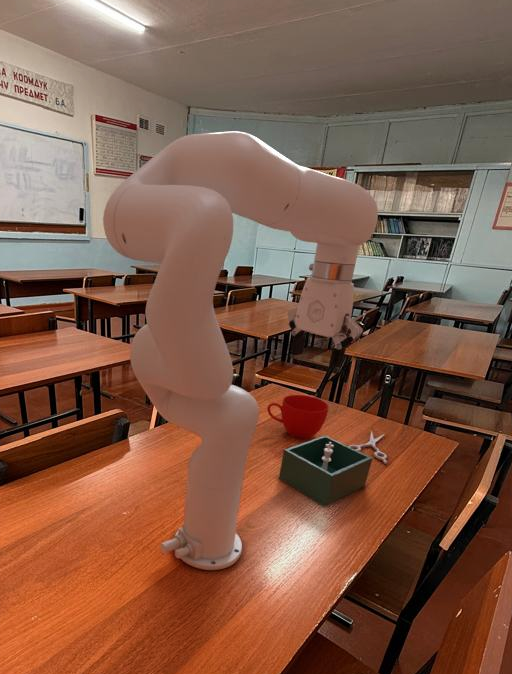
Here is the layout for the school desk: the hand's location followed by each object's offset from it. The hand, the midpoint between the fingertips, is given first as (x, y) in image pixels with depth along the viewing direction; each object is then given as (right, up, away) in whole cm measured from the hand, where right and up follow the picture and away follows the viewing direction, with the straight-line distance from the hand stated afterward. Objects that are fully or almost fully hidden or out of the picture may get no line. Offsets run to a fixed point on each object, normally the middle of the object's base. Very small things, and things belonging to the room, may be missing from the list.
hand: (315, 360), depth 89 cm
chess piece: (+6, -26, +15) cm, 31 cm away
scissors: (+26, -19, +36) cm, 49 cm away
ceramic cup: (+4, -16, +39) cm, 43 cm away
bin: (+6, -27, +15) cm, 31 cm away
